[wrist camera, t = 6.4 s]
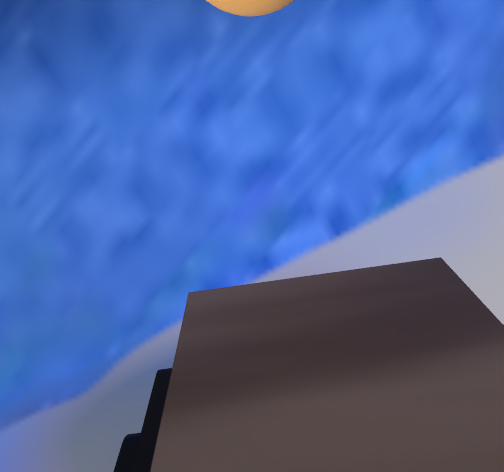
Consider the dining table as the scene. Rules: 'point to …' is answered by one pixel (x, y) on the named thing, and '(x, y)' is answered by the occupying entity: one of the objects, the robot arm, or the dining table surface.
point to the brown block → (337, 376)
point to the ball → (250, 6)
